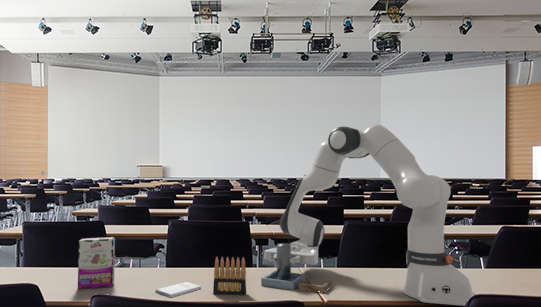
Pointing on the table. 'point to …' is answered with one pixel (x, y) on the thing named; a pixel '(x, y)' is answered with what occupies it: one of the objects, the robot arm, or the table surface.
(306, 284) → the stop seat
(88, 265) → the candy bar box
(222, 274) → the ammunition clip
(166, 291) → the external hard drive
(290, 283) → the tray
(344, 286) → the table surface
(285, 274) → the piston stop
